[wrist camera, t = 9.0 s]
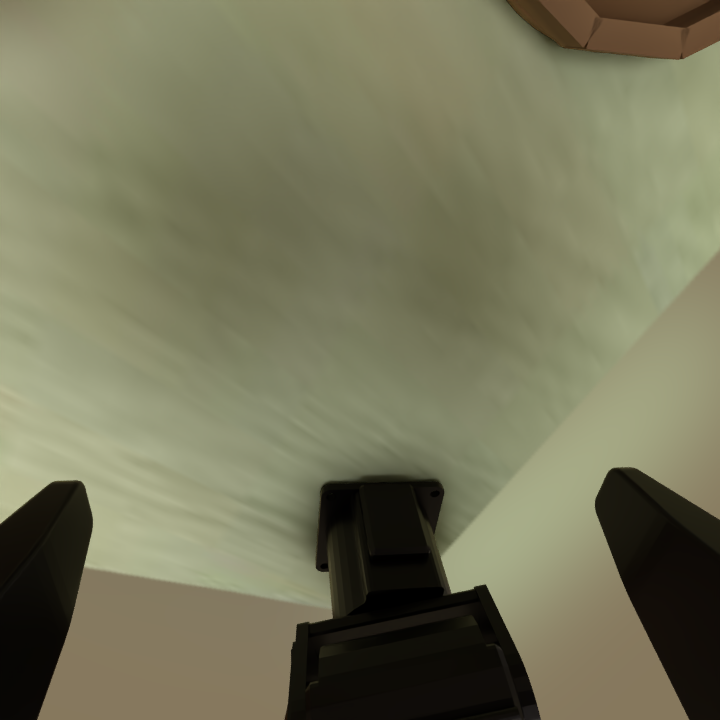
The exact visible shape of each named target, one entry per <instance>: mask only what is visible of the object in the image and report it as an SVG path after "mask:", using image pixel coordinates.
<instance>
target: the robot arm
mask: <svg viewBox="0 0 720 720" xmlns="http://www.w3.org/2000/svg"><path fill="white" fill-rule="evenodd" d="M435 490H436V491H435ZM432 491H433V492H432ZM330 493H332V494H331V495H329V494H330ZM443 496H444V489H443V486H442V484H441V483H439V482H435V481H431V482H393V483H354V484H329V485H326V486H324V487H323V488H322V489H321V493H320V507H319V520H318V534H317V547H316V569H317V570H318V571H321V572H329V578H330V590H331V601H332V612H333V619H330V620H325V621H320V622H315V623H309V622H305V623H300V624H297V630H296V642H293V647H292V650H291V673H290V686H289V699H288V706H287V711H286V715H285V720H541V719H540V715H539V711H538V707H537V703H536V700H535V696H534V693H533V690H532V686H531V683H530V680H529V677H528V675H527V672H526V669H525V667H524V664H523V662H522V659H521V657H520V655H519V653H518V651H517V649H516V647H515V644H514V642H513V640H512V638H511V636H510V634H509V632H508V630H507V628H506V626H505V624H504V622H503V619H502V617H501V615H500V613H499V611H498V609H497V607H496V605H495V603H494V601H493V599H492V596H491V594H490V592H489V590H488V588H487V586H486V585H480V586H476V587H474V589H472V590H468V591H462V592H457V593H453V594H451V590H450V587H449V584H448V581H447V577H446V574H445V571H444V567H443V565H442V561H441V557H440V554H439V551H438V548H437V544H436V541H435V538H434V533H435V529H436V525H437V521H438V516H439V512H440V508H441V504H442V500H443ZM595 510H596V514H597V516H598V519H599V522H600V524H601V527H602V529H603V532H604V535H605V537H606V540H607V543H608V545H609V548H610V550H611V553H612V556H613V558H614V561H615V564H616V566H617V569H618V572H619V574H620V577H621V579H622V582H623V584H624V587H625V589H626V591H627V594H628V596H629V598H630V600H631V602H632V604H633V606H634V608H635V610H636V612H637V614H638V616H639V619H640V621H641V623H642V624H643V627H644V629H645V631H646V633H647V635H648V637H649V639H650V641H651V643H652V645H653V647H654V649H655V651H656V653H657V655H658V657H659V659H660V661H661V663H662V665H663V667H664V669H665V671H666V673H667V675H668V677H669V679H670V681H671V684H672V686H673V688H674V689H675V692H676V694H677V696H678V698H679V700H680V702H681V704H682V706H683V708H684V710H685V712H686V714H687V716H688V718H689V720H720V520H719V519H717V518H716V517H714V516H712V515H711V514H709V513H708V512H706V511H704V510H703V509H701V508H700V507H698V506H696V505H695V504H693V503H691V502H689V501H688V500H687V499H685V498H683V497H682V496H680V495H678V494H677V493H675V492H674V491H672V490H670V489H669V488H667V487H665V486H664V485H662V484H660V483H659V482H657V481H656V480H654V479H652V478H651V477H649V476H648V475H646V474H644V473H643V472H641V471H639V470H638V469H635V468H631V467H624V468H623V467H621V468H612V469H611V470H610V471H609V472H608V473H607V475H606V477H605V479H604V482H603V484H602V486H601V488H600V490H599V492H598V495H597V497H596V500H595ZM92 528H93V517H92V512H91V508H90V504H89V501H88V497H87V493H86V489H85V486H84V484H83V483H82V482H81V481H78V480H73V481H54V482H52V483H50V484H49V485H47V486H46V487H45V488H44V489H42V490H41V491H40V492H39V493H37V494H36V495H35V496H34V497H33V498H31V499H30V500H29V501H28V502H26V503H25V504H24V505H23V506H22V507H20V508H19V509H18V510H17V511H15V512H14V513H13V514H12V515H11V516H9V517H8V518H7V519H6V520H4V521H3V522H2V523H1V524H0V720H37V719H38V716H39V713H40V710H41V707H42V704H43V701H44V699H45V696H46V693H47V690H48V688H49V685H50V682H51V679H52V676H53V673H54V671H55V668H56V665H57V662H58V659H59V656H60V653H61V651H62V648H63V645H64V642H65V639H66V636H67V633H68V630H69V627H70V623H71V619H72V615H73V611H74V607H75V603H76V598H77V594H78V590H79V585H80V581H81V577H82V573H83V568H84V564H85V560H86V555H87V551H88V547H89V542H90V538H91V534H92Z"/></svg>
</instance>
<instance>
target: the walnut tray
mask: <svg viewBox="0 0 720 720" xmlns="http://www.w3.org/2000/svg"><path fill="white" fill-rule="evenodd" d="M507 2H508V3H509V4H510V5H511V6H512V7H513V9H514V10H515V11H516V12H517V13H518V14H519V15H520V16H521V17H522V18H523V19H524V20H526V21H527V22H528V23H529V24H530V25H531V26H533V27H534V28H535V29H536V30H538V31H540V32H541V33H543V34H545V35H546V36H548V37H550V38H551V39H553V40H555V41H556V42H557V44H558V45H559V46H560V47H563V48H568V49H577V50H586V51H591V52H600V53H612V54H621V55H630V56H638V57H647V58H661V59H676V60H679V59H684V58H686V57H688V56H690V55H692V54H694V53H696V52H698V51H700V50H702V49H704V48H706V47H708V46H710V45H712V44H714V43H716V42H718V41H720V0H507Z"/></svg>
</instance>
